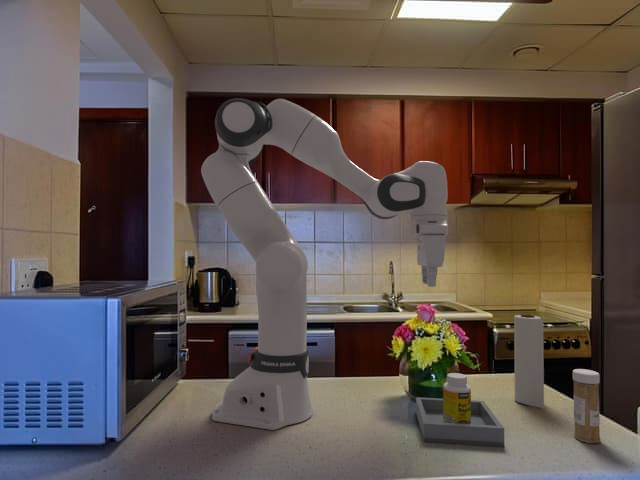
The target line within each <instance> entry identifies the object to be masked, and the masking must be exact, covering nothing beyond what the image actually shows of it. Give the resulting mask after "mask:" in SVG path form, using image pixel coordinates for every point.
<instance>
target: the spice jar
mask: <svg viewBox="0 0 640 480" xmlns="http://www.w3.org/2000/svg"><path fill="white" fill-rule="evenodd" d="M600 377H601V376H600V373H599V372H597V371H594V370H591V369H585V368H575V369H573V370H572V382H573V420H574V425H573V426H574V432H573V436H574V438H575V439H577V440H578V441H580V442H582V443H586V444H598V443H600V442H601V435H600V424H601V422H600V420H601V419H600V418H601V417H600V395H599V386H600V379H601V378H600Z"/></svg>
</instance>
